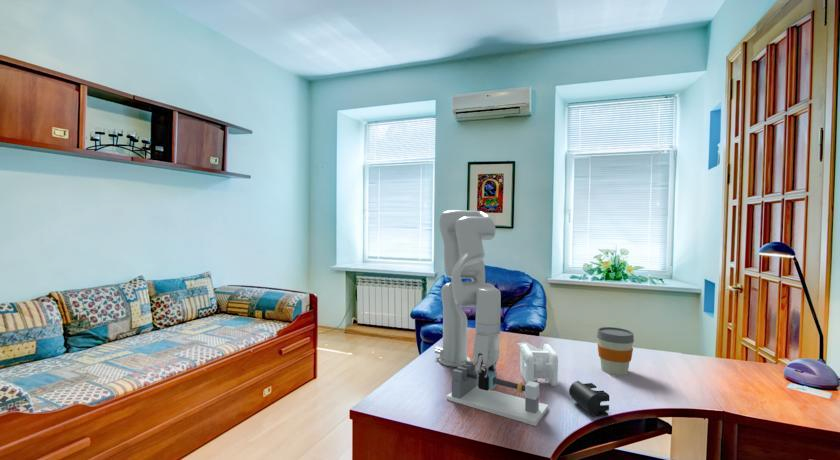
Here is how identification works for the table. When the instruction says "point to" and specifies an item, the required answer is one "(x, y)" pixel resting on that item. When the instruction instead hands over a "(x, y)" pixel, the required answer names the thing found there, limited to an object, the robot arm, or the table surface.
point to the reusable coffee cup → (615, 349)
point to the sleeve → (490, 378)
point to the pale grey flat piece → (530, 346)
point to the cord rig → (497, 396)
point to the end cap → (589, 398)
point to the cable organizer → (539, 364)
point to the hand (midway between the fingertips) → (486, 386)
